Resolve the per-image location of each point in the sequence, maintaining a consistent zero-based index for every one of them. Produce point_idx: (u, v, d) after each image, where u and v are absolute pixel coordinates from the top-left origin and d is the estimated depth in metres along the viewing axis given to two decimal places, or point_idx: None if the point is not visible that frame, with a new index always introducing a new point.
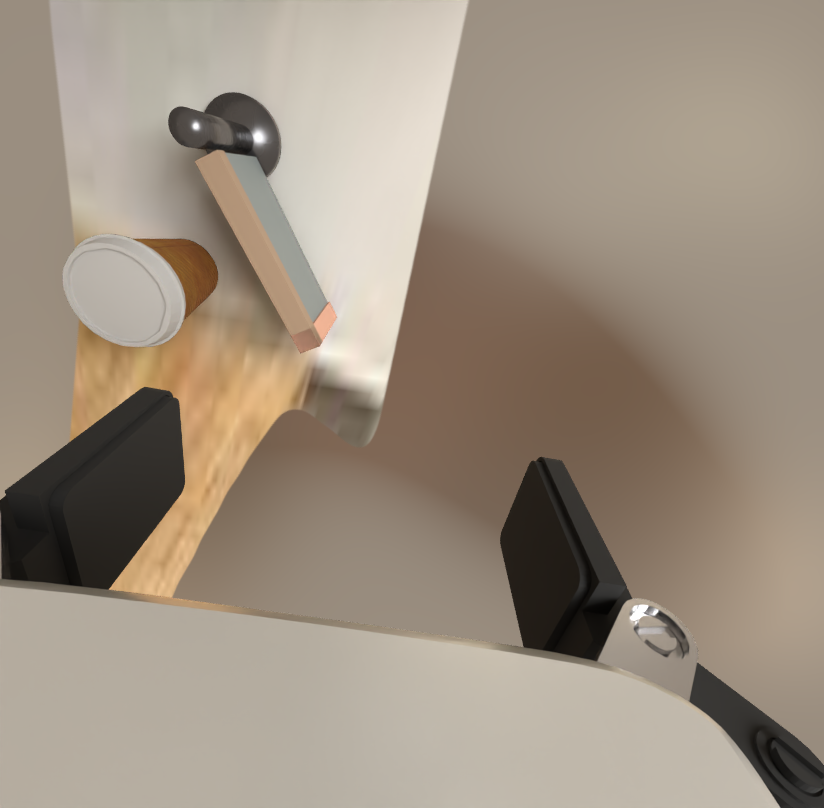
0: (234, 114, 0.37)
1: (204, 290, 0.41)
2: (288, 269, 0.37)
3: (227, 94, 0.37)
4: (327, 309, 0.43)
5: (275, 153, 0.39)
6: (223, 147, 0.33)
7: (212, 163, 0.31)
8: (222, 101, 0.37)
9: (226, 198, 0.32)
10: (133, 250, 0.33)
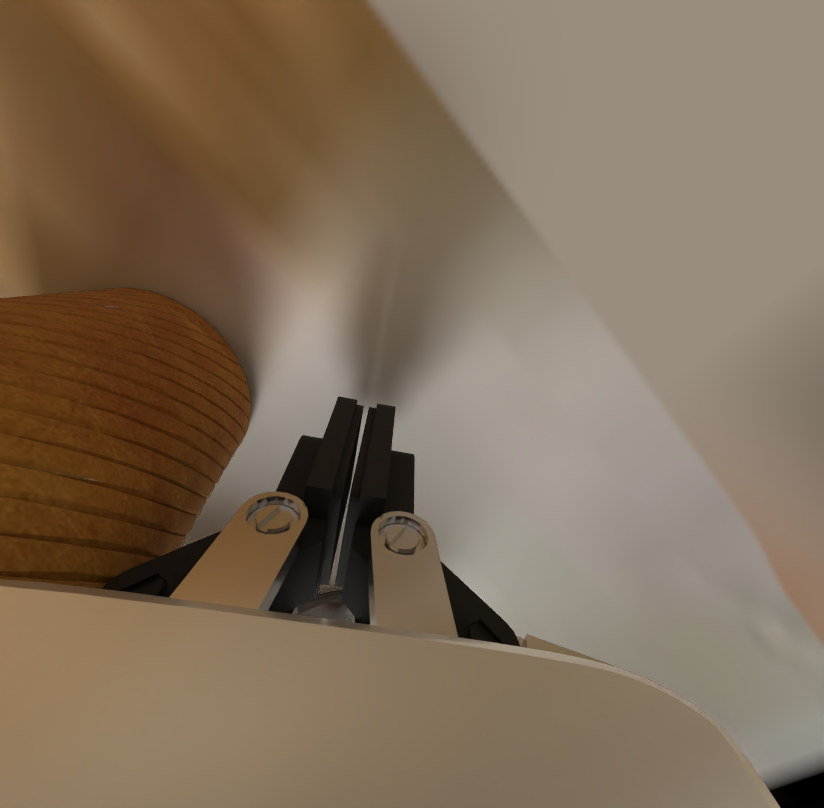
0: None
1: None
2: None
3: None
4: None
5: None
6: None
7: None
8: None
9: None
10: None
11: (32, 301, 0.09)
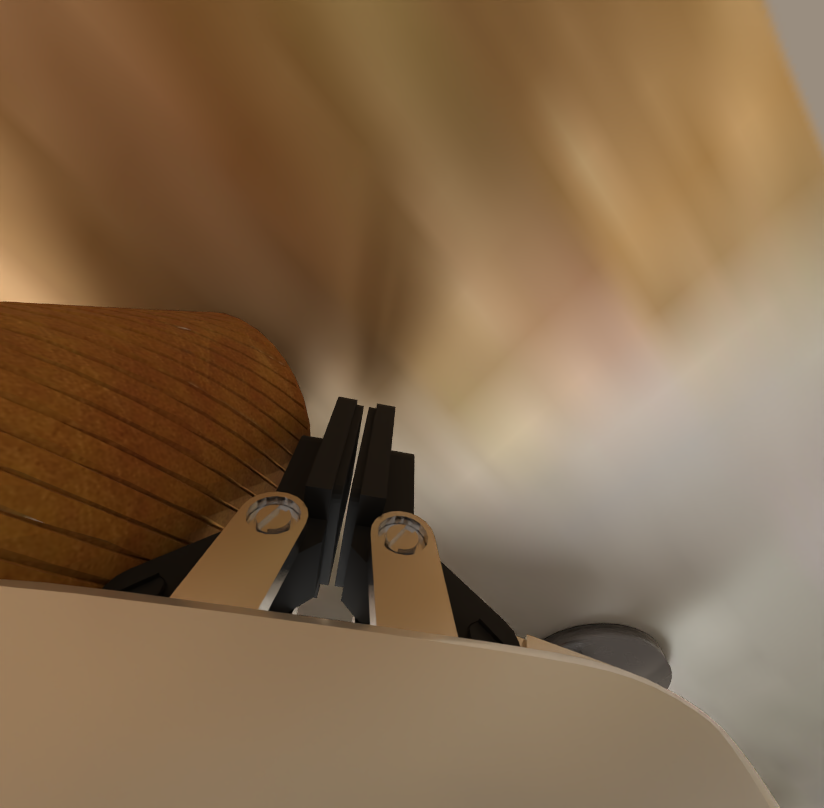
0: None
1: None
2: None
3: None
4: None
5: None
6: None
7: None
8: None
9: None
10: None
11: (107, 312, 0.09)
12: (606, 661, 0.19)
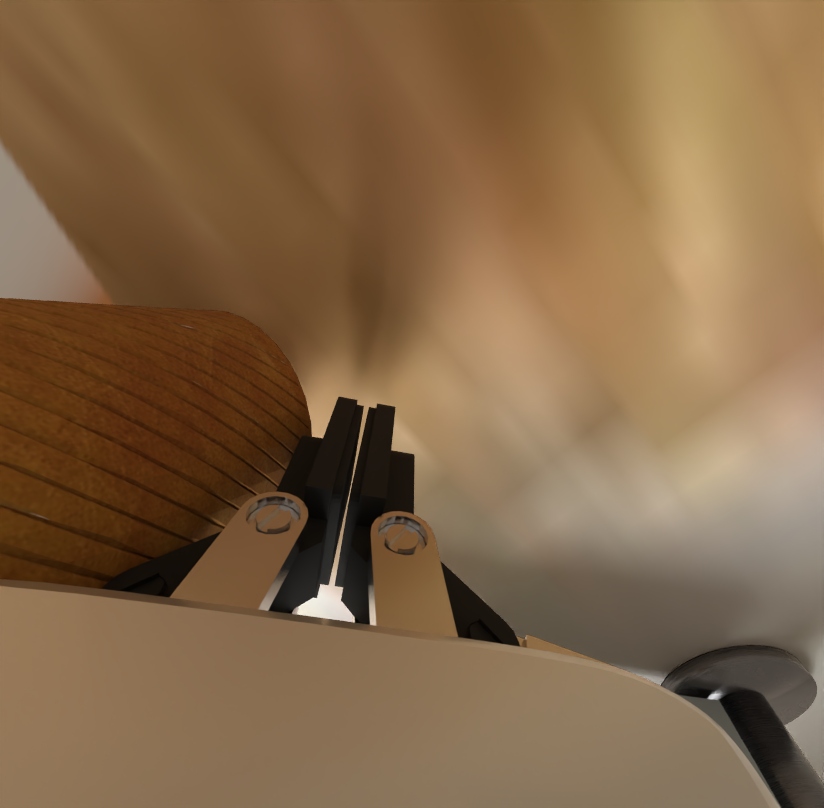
0: None
1: None
2: None
3: (790, 720, 0.21)
4: None
5: None
6: None
7: None
8: (794, 711, 0.21)
9: None
10: None
11: (111, 310, 0.09)
12: (755, 682, 0.20)
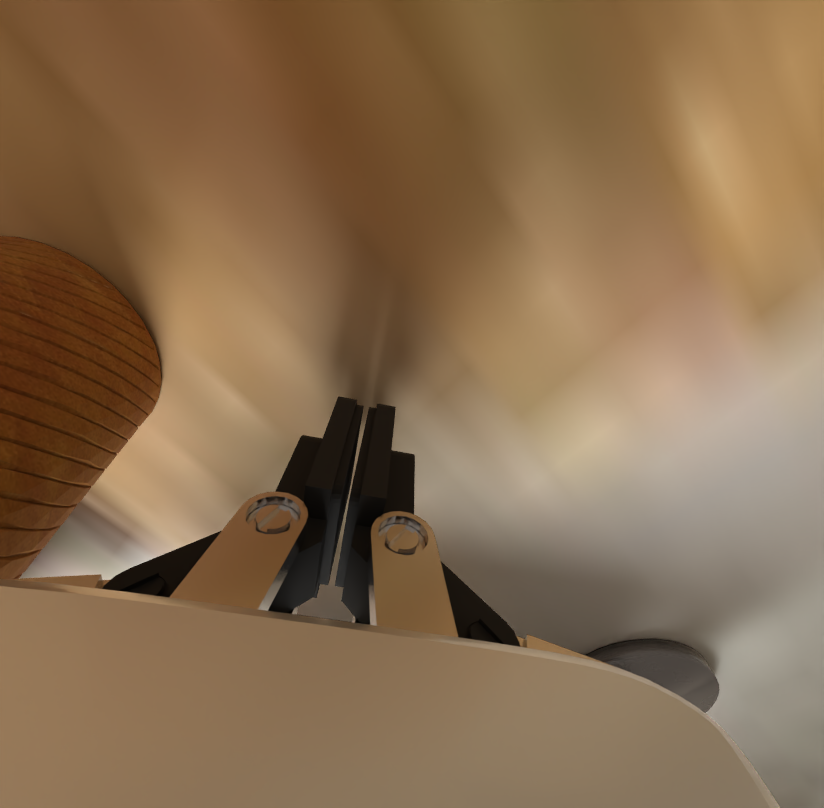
0: None
1: None
2: None
3: None
4: None
5: None
6: None
7: None
8: None
9: None
10: None
11: None
12: (653, 678, 0.19)
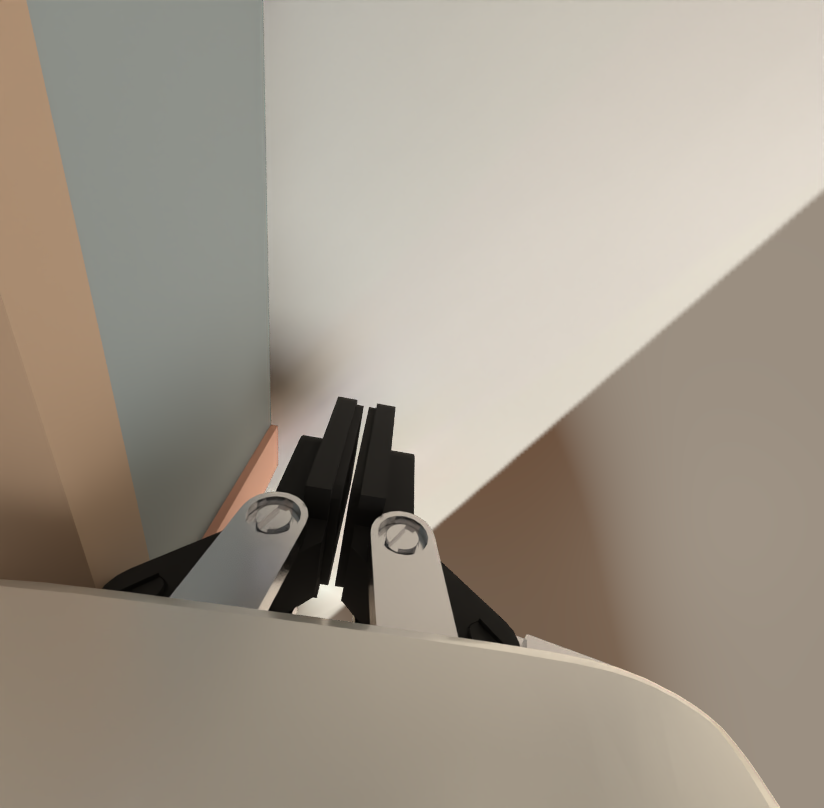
0: None
1: None
2: (154, 371, 0.07)
3: None
4: (260, 463, 0.14)
5: None
6: None
7: None
8: None
9: None
10: None
11: None
12: None
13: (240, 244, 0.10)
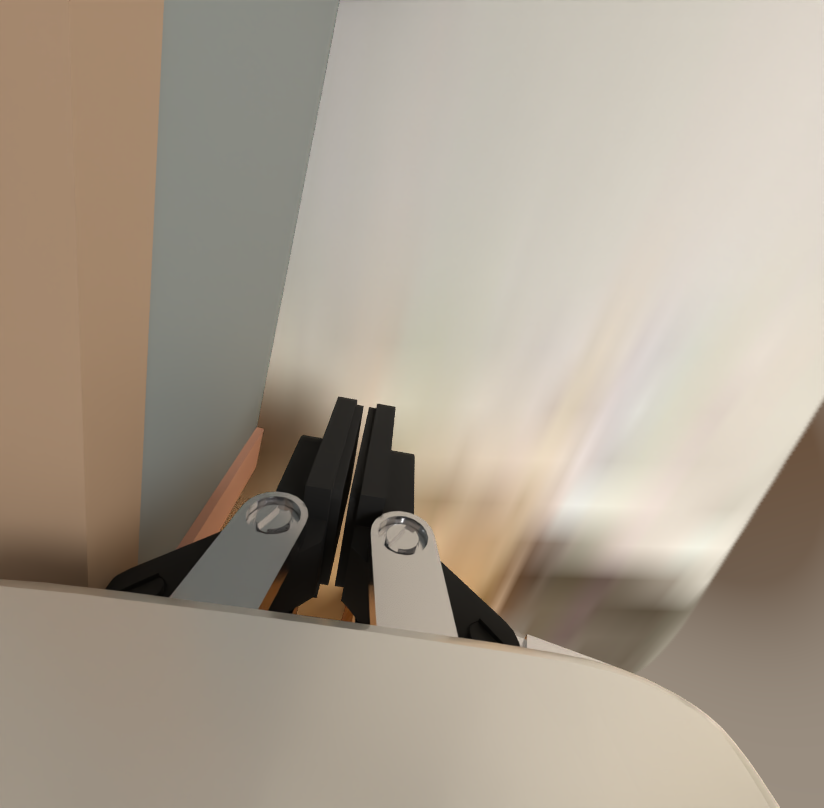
0: None
1: None
2: (176, 379, 0.07)
3: None
4: (243, 466, 0.13)
5: None
6: None
7: None
8: None
9: None
10: None
11: None
12: None
13: (270, 251, 0.10)
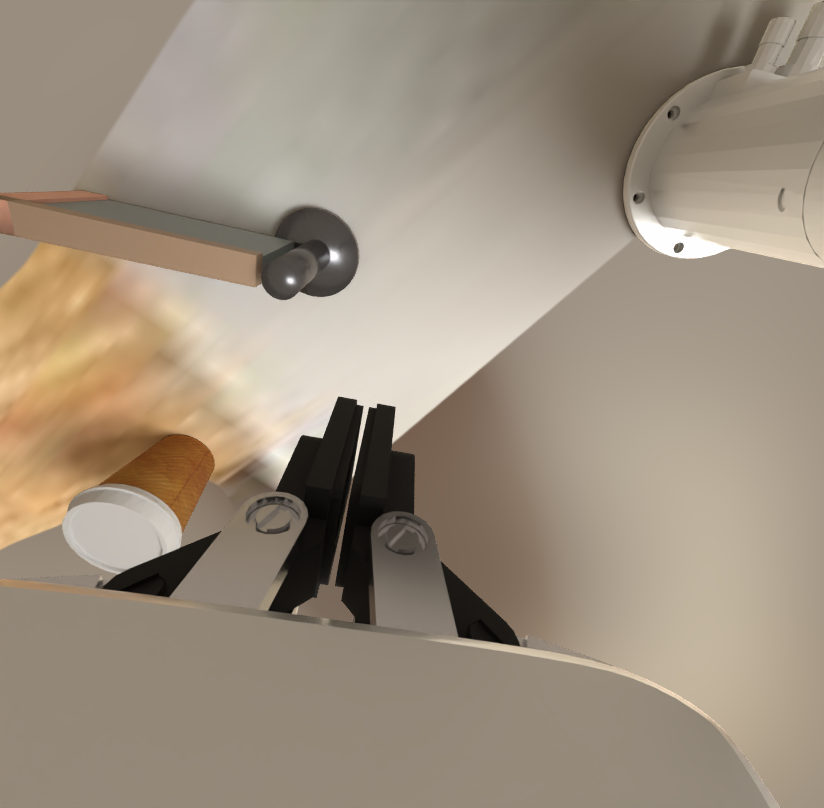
0: (324, 233, 0.34)
1: None
2: None
3: (329, 214, 0.33)
4: None
5: (342, 286, 0.36)
6: None
7: (245, 272, 0.26)
8: (320, 216, 0.33)
9: (207, 258, 0.26)
10: (158, 522, 0.35)
11: None
12: None
13: None
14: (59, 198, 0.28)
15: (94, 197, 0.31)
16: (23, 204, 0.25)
